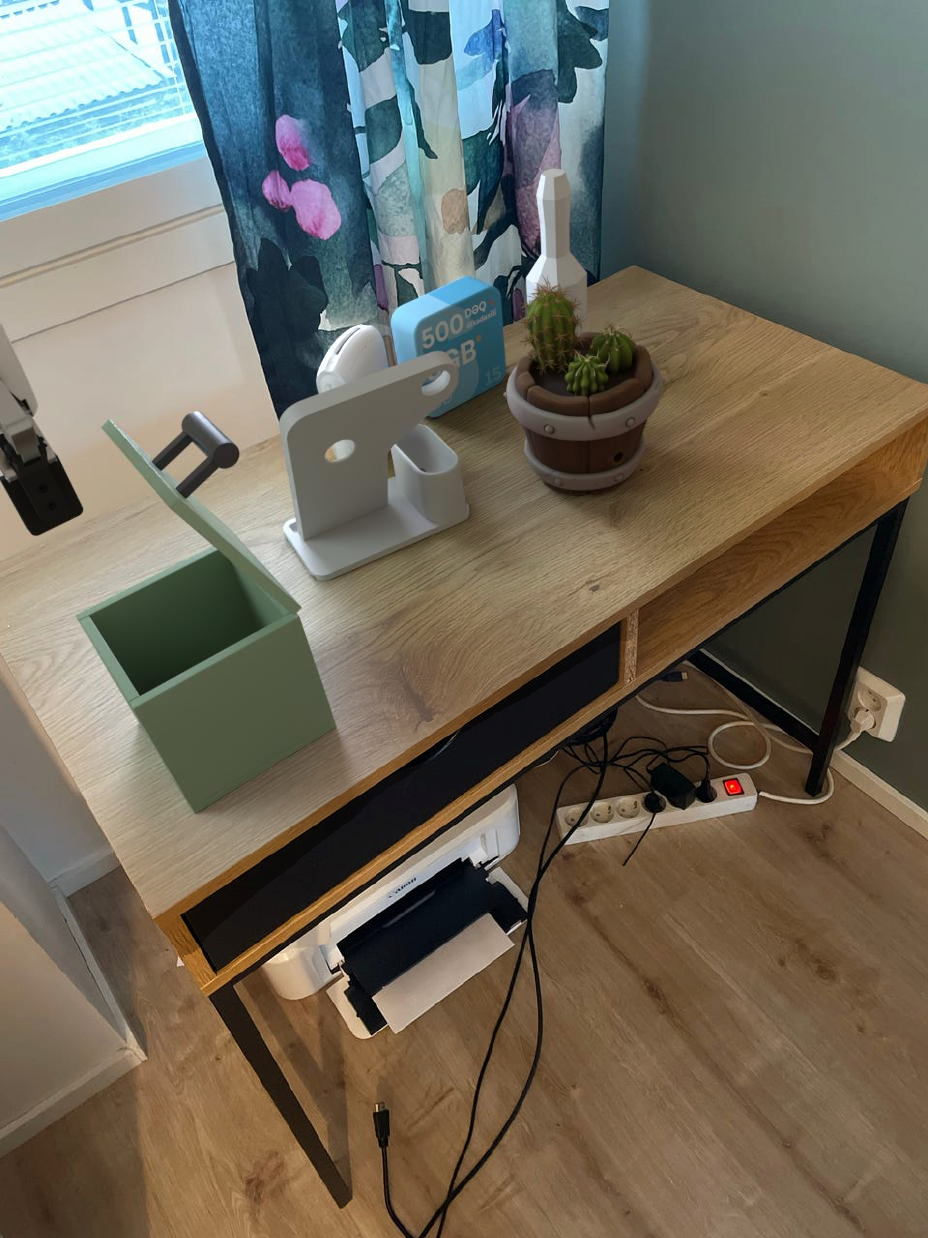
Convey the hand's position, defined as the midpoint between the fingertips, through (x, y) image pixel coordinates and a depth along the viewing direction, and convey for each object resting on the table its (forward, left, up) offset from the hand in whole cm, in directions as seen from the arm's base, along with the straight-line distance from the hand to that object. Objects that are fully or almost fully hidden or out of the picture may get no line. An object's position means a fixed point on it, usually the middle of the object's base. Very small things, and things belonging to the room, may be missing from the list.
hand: (27, 488), depth 55 cm
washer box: (+4, -4, -26) cm, 26 cm away
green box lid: (+7, -5, -6) cm, 11 cm away
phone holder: (+30, +1, -26) cm, 40 cm away
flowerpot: (+47, -13, -26) cm, 55 cm away
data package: (+53, +7, -26) cm, 59 cm away
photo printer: (+41, +11, -26) cm, 50 cm away
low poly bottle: (+63, -1, -26) cm, 68 cm away
